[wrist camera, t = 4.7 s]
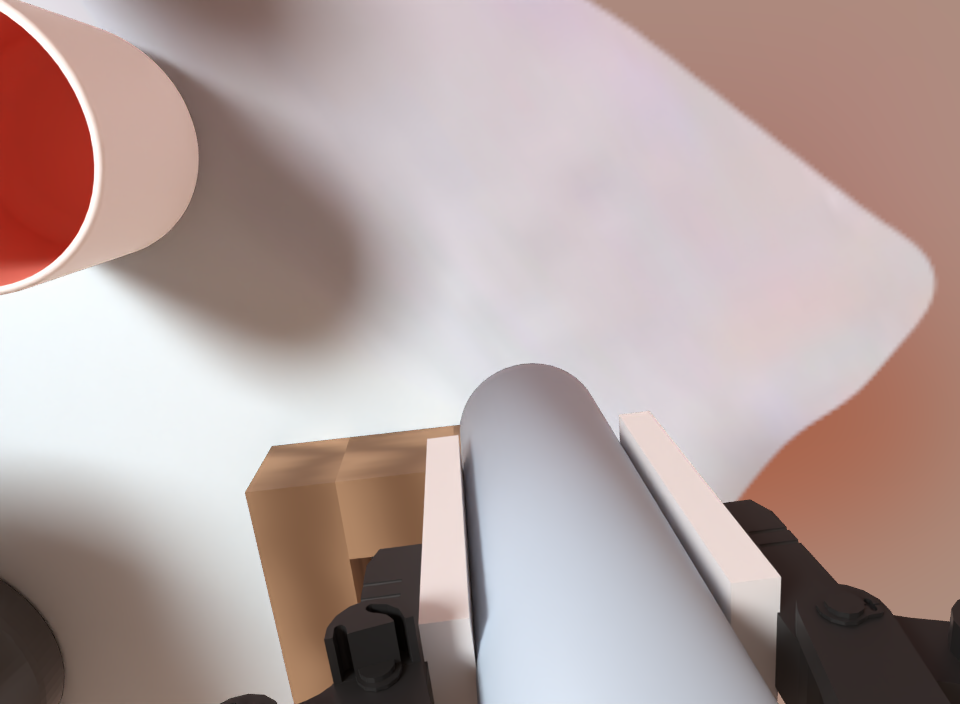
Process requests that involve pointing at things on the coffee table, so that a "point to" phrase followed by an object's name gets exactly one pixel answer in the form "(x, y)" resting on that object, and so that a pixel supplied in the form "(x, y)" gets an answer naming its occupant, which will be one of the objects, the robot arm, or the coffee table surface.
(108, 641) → the coffee table surface
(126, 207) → the cup
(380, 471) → the socket block
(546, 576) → the peg
